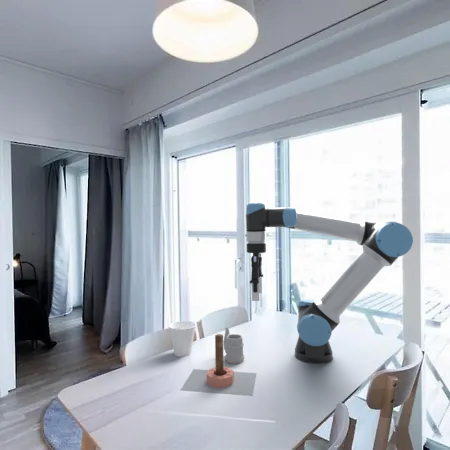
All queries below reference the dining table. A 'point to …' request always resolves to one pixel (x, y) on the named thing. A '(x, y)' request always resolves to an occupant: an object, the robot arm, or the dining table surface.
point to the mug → (233, 347)
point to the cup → (182, 337)
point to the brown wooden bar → (219, 355)
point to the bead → (220, 378)
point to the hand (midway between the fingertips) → (257, 296)
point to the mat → (240, 386)
